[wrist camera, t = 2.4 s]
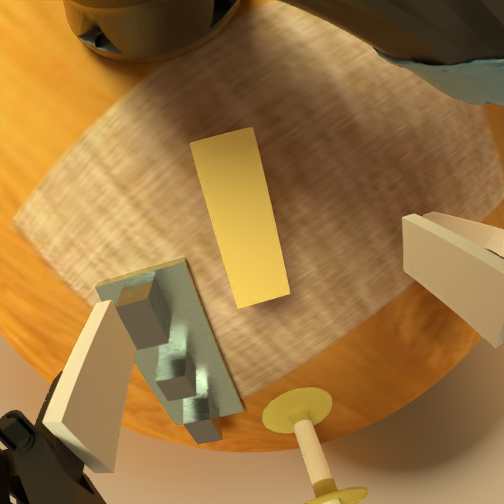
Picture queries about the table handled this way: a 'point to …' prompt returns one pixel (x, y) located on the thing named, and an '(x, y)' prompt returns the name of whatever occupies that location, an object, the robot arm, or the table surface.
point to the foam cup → (471, 231)
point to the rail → (175, 346)
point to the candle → (309, 439)
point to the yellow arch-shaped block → (241, 215)
